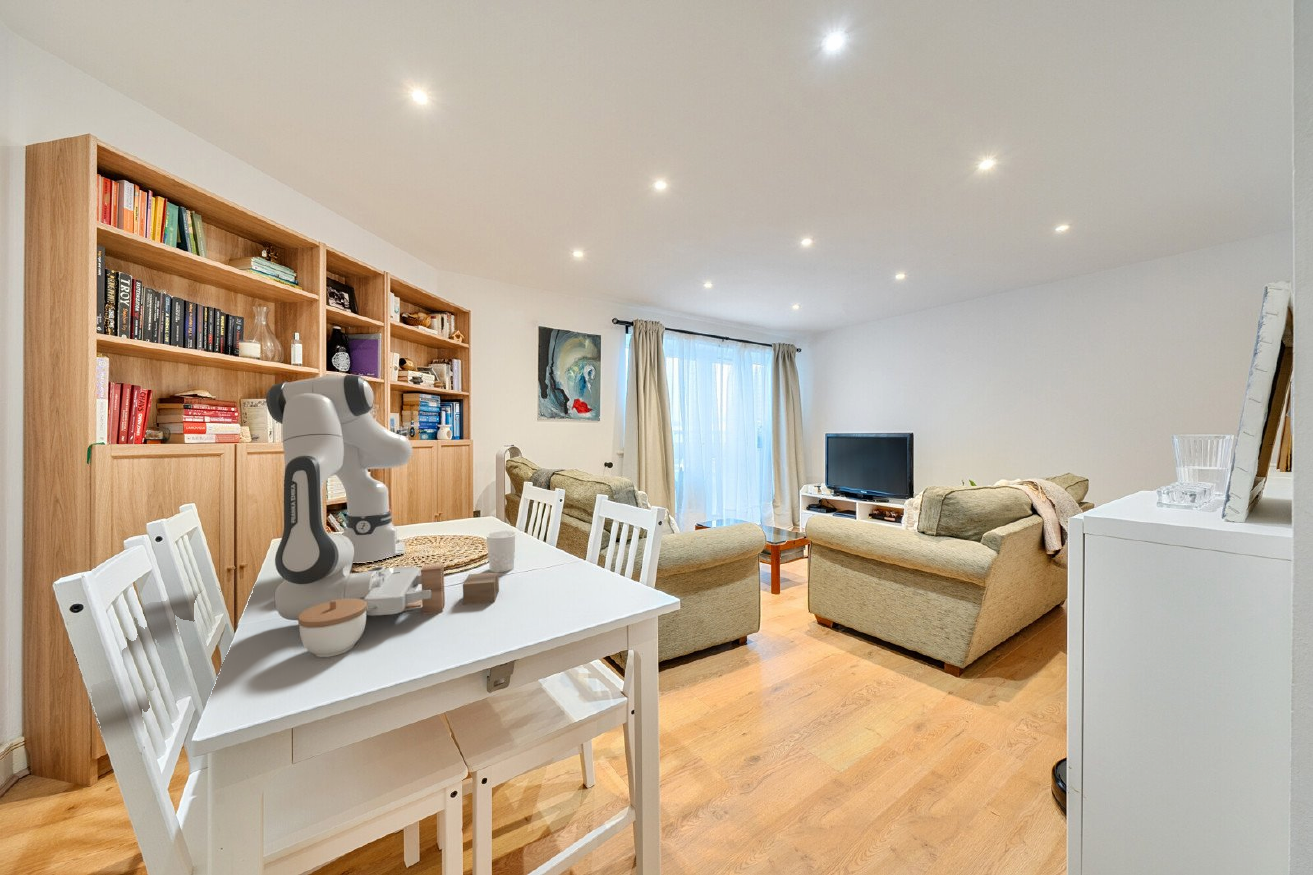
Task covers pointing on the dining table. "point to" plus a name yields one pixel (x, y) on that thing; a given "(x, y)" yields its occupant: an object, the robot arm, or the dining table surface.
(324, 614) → the lidded jar
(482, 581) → the walnut block
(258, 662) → the dining table surface
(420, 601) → the swatch tile
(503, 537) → the white cup
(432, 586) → the cherry post
